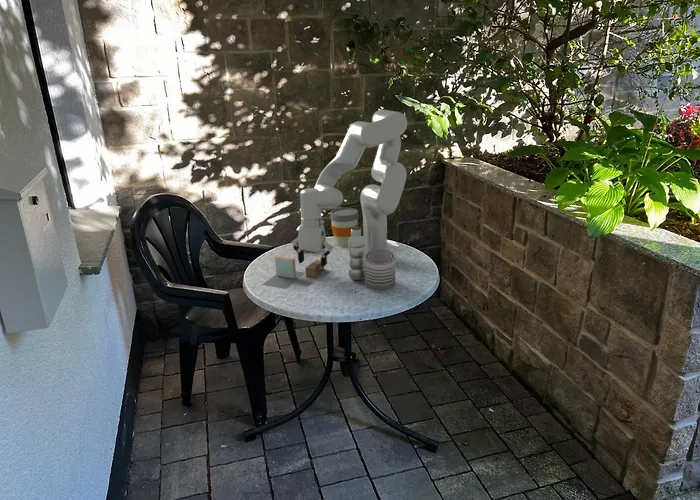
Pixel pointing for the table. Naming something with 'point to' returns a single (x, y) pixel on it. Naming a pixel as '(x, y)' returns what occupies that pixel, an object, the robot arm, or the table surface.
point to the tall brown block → (311, 273)
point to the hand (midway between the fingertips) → (312, 264)
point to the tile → (285, 267)
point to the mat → (283, 280)
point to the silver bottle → (356, 255)
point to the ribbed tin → (380, 270)
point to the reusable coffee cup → (343, 224)
